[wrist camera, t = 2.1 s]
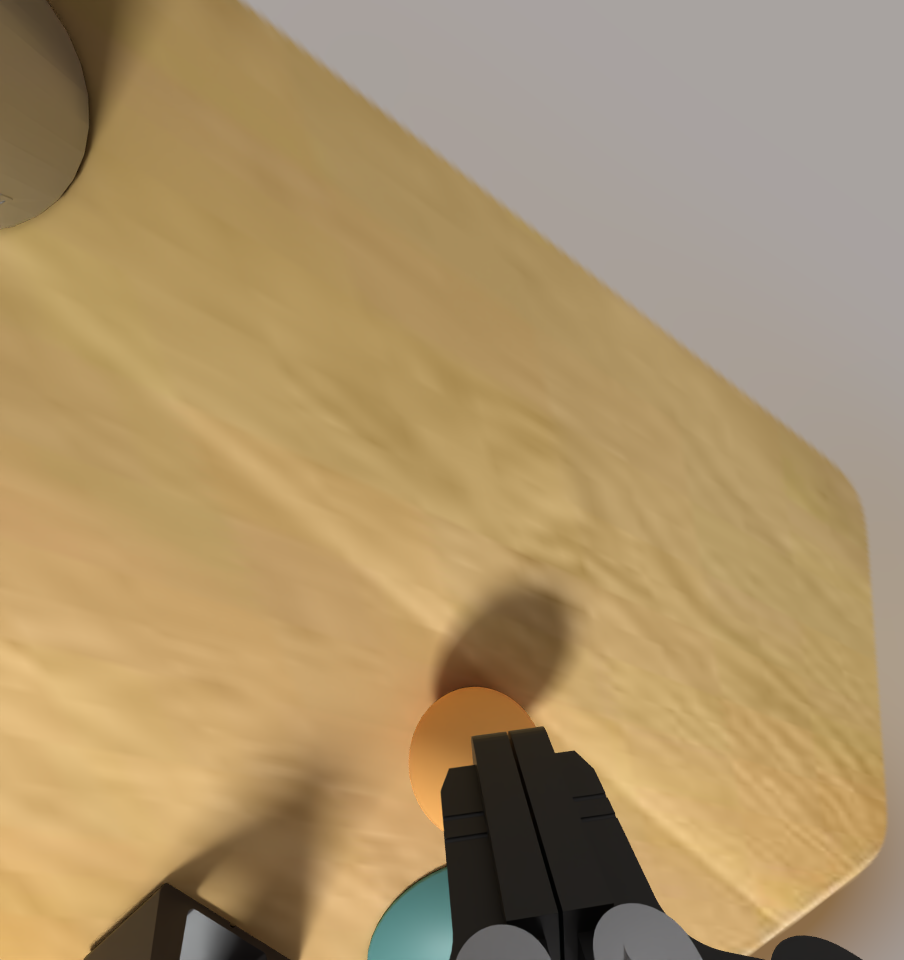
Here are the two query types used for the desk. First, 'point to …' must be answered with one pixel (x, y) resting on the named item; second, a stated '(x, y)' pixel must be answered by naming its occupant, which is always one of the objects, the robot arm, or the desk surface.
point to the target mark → (416, 923)
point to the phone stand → (179, 934)
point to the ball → (456, 739)
